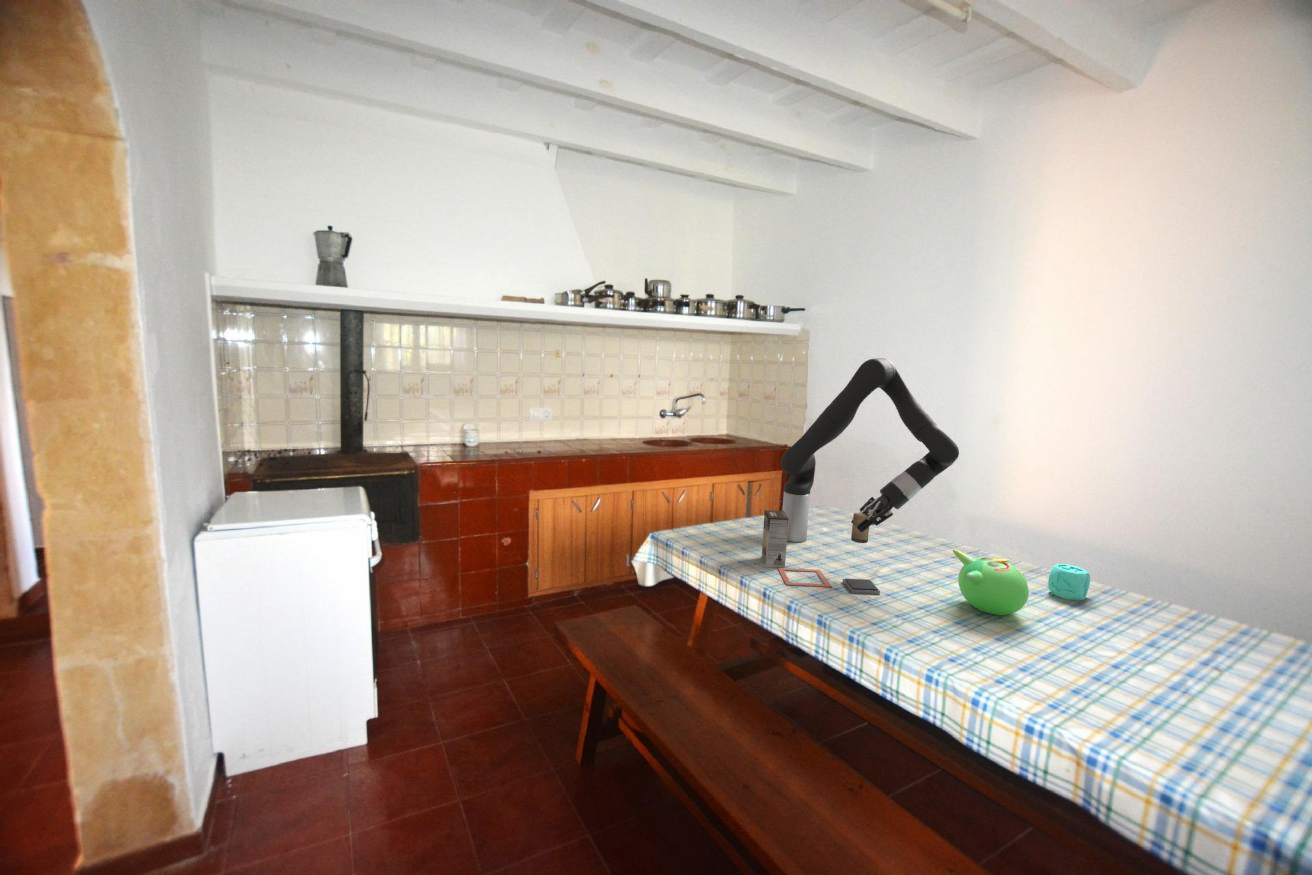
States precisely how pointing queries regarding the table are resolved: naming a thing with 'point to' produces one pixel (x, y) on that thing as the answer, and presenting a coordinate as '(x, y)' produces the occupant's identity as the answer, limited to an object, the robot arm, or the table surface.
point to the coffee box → (774, 538)
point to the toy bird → (992, 584)
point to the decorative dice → (1069, 582)
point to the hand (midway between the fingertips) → (856, 526)
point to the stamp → (856, 534)
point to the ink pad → (861, 586)
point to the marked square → (787, 582)
